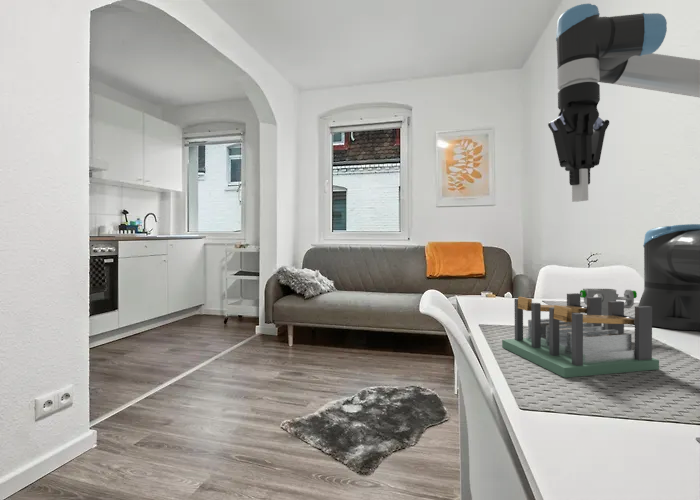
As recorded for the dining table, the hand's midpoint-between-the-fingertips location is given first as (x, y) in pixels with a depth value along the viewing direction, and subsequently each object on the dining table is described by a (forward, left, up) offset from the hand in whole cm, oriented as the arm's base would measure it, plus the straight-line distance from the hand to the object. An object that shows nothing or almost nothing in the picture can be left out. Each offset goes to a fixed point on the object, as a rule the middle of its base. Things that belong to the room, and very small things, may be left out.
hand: (580, 200), depth 81 cm
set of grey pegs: (+10, +11, -27) cm, 31 cm away
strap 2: (+11, +16, -22) cm, 29 cm away
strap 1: (+11, +6, -22) cm, 25 cm away
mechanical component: (-6, 0, -29) cm, 30 cm away
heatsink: (+11, +11, -27) cm, 32 cm away
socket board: (+11, +11, -29) cm, 33 cm away
